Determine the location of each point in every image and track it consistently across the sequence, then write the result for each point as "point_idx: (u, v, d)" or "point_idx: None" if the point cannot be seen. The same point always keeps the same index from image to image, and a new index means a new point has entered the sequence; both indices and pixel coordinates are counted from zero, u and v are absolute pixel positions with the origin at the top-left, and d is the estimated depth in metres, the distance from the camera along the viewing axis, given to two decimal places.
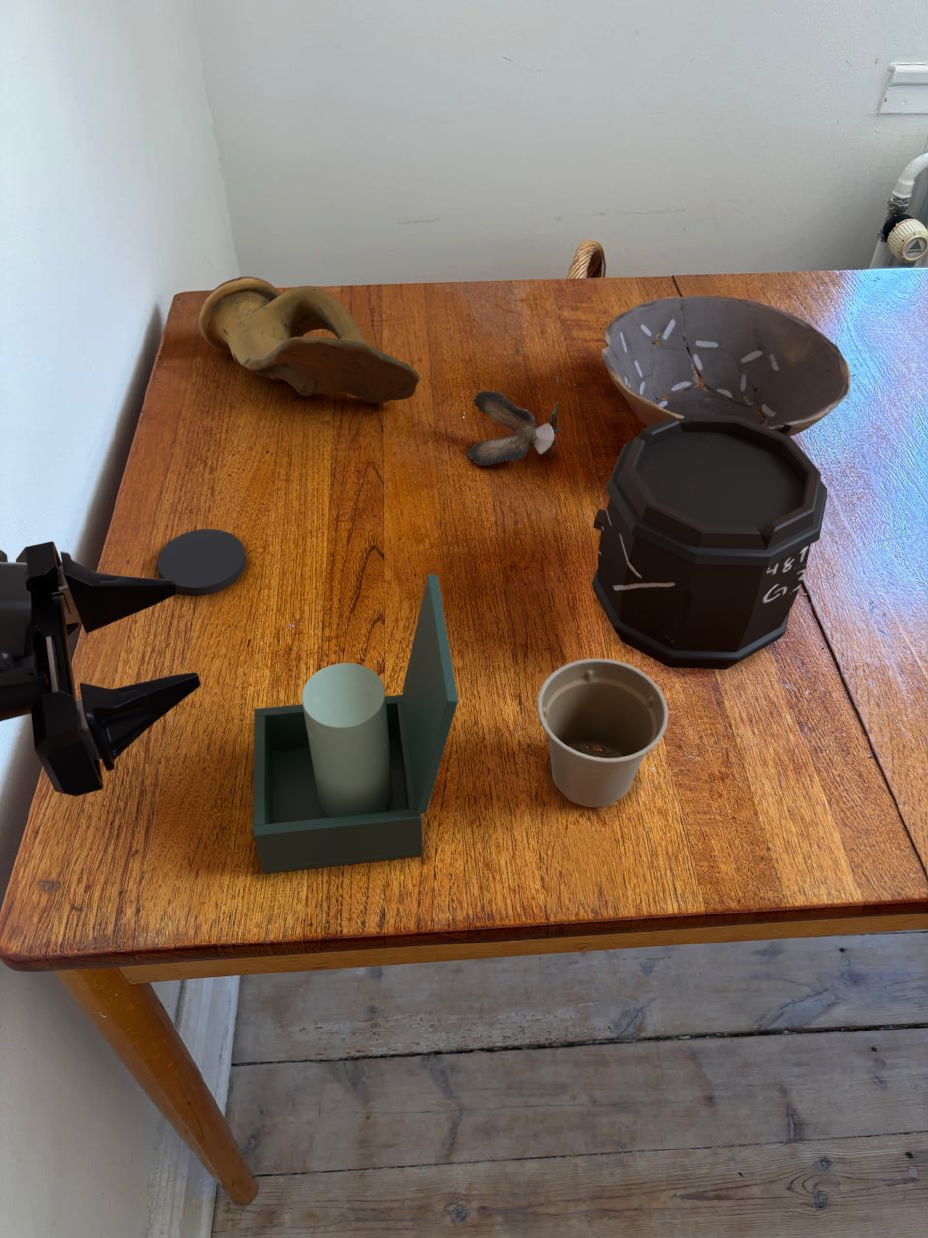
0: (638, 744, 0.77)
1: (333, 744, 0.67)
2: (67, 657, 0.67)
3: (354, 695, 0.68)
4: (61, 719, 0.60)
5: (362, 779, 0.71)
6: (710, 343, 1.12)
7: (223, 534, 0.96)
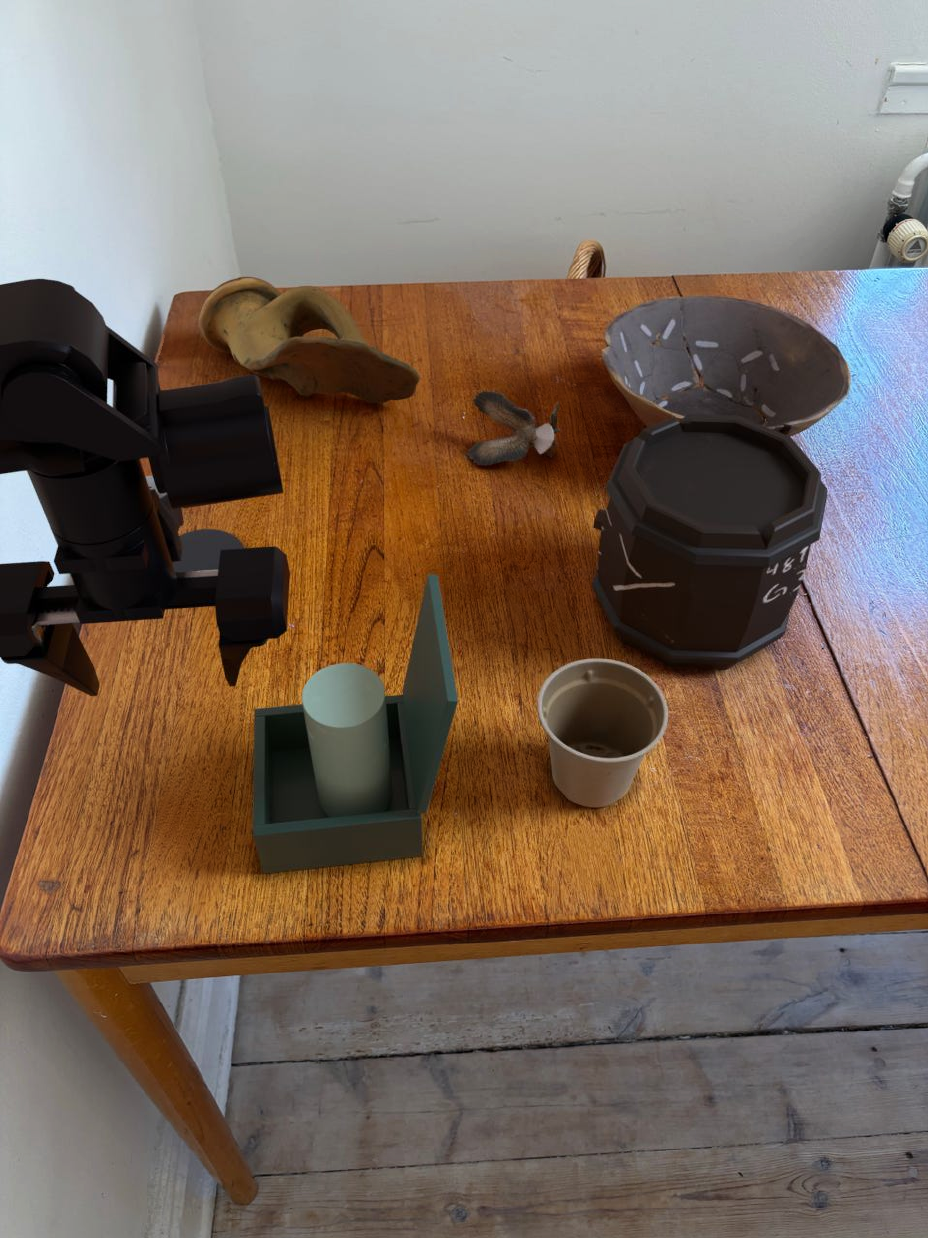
0: (638, 744, 0.77)
1: (333, 744, 0.67)
2: None
3: (354, 695, 0.68)
4: None
5: (362, 779, 0.71)
6: (710, 343, 1.12)
7: (223, 534, 0.96)
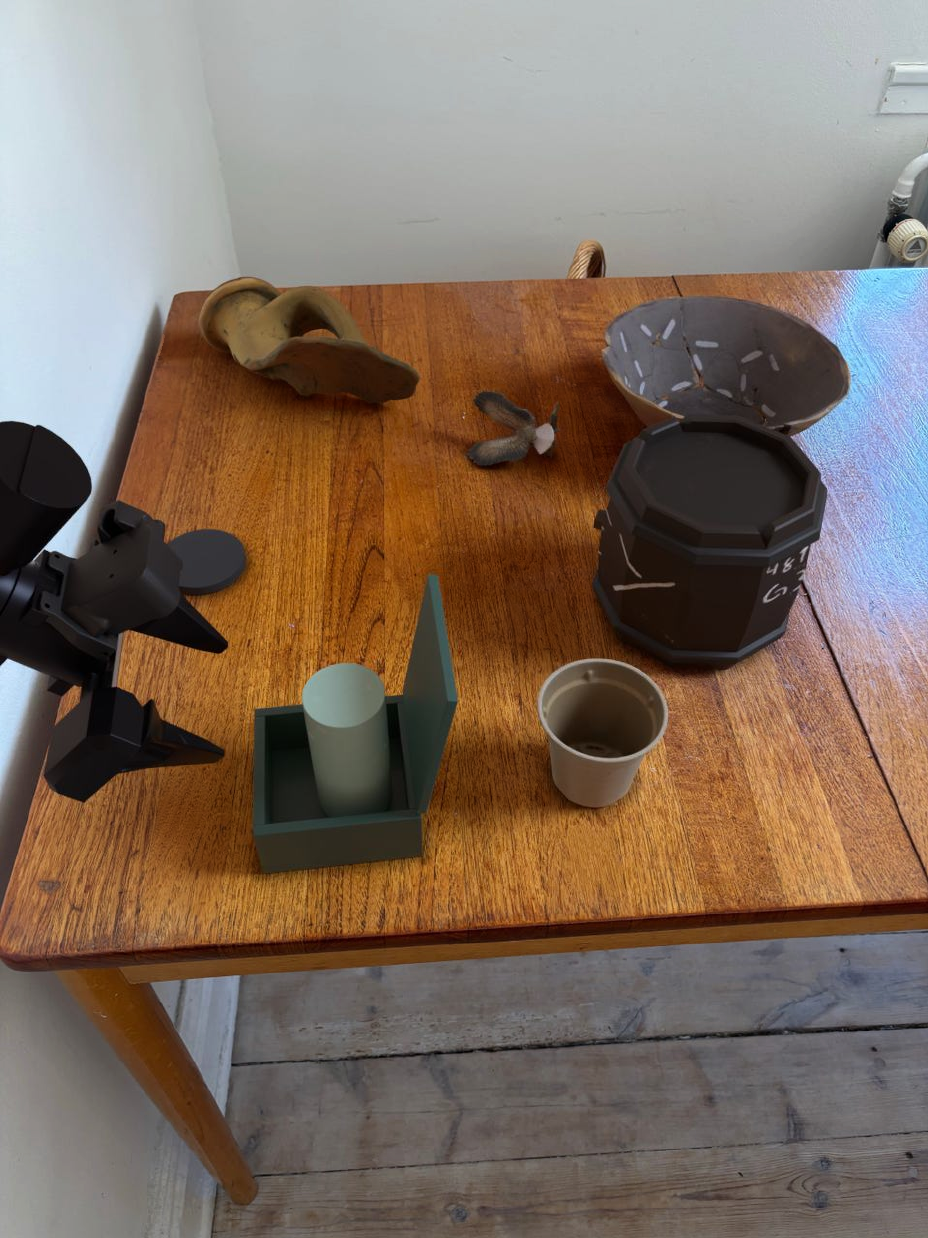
0: (638, 744, 0.77)
1: (333, 744, 0.67)
2: (120, 651, 0.62)
3: (354, 695, 0.68)
4: (128, 725, 0.55)
5: (362, 779, 0.71)
6: (710, 343, 1.12)
7: (223, 534, 0.96)
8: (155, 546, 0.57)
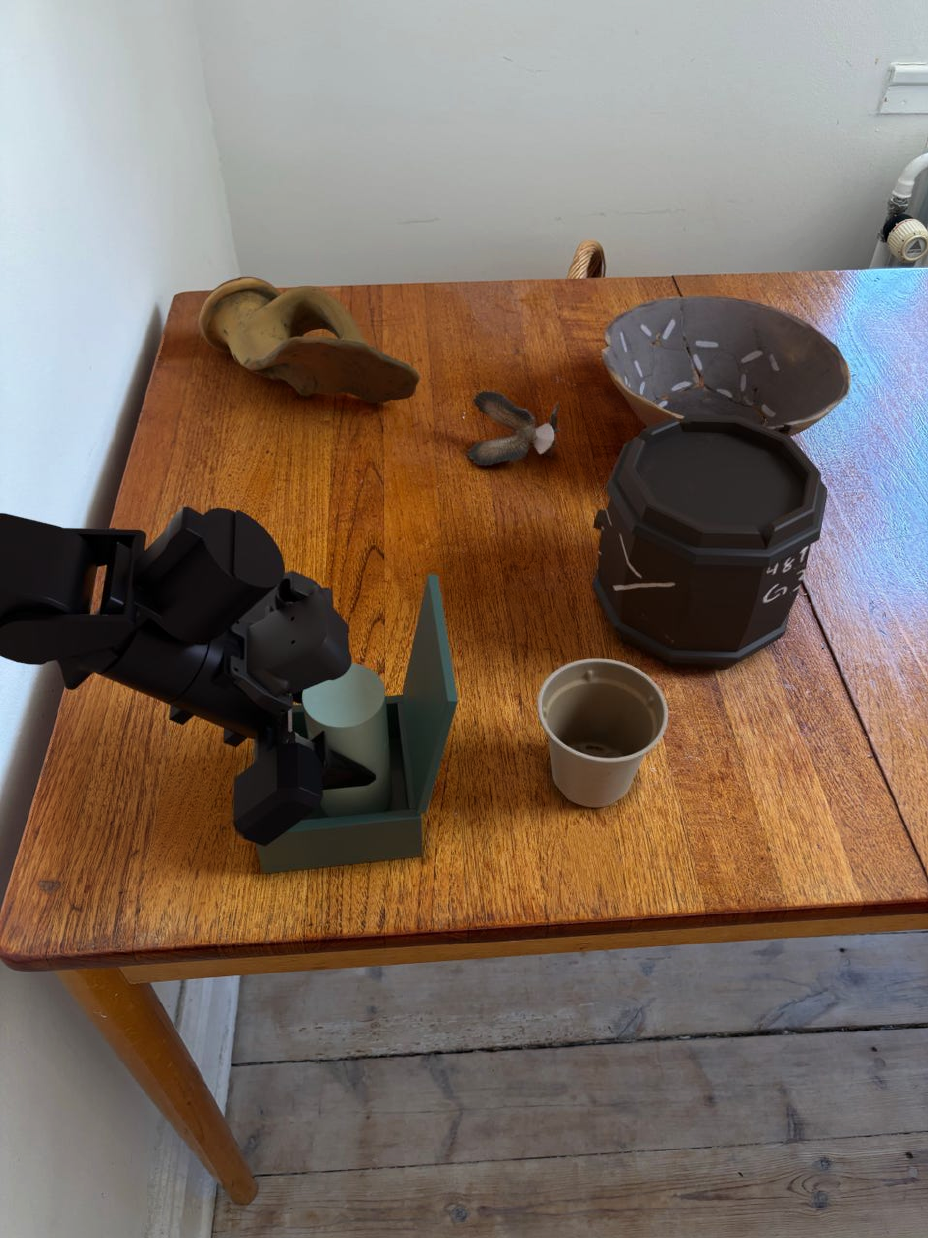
0: (638, 744, 0.77)
1: (333, 744, 0.67)
2: None
3: (354, 695, 0.68)
4: (311, 778, 0.61)
5: None
6: (710, 343, 1.12)
7: None
8: (330, 614, 0.63)
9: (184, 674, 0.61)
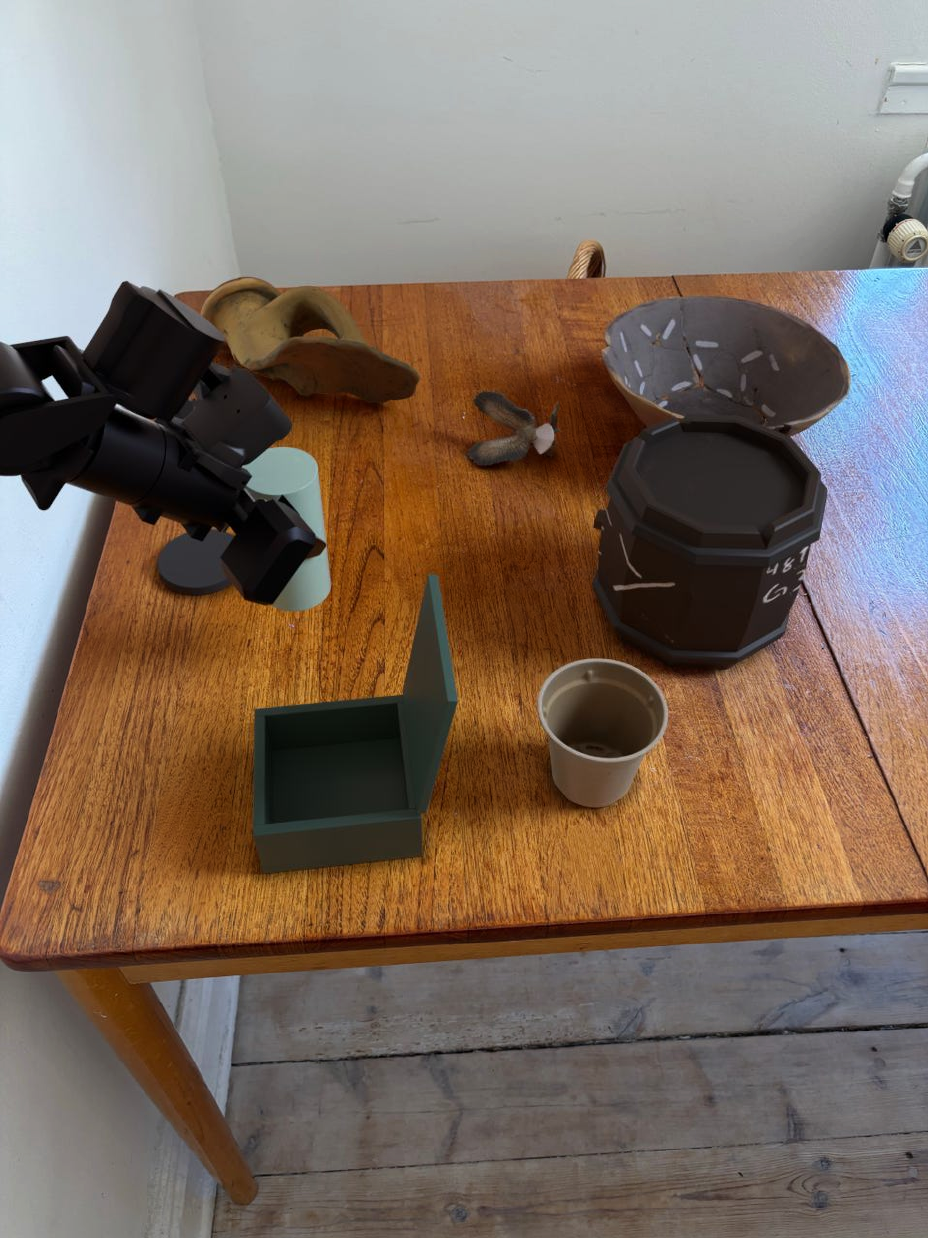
0: (638, 744, 0.77)
1: None
2: None
3: (289, 468, 0.74)
4: (299, 522, 0.67)
5: None
6: (710, 343, 1.12)
7: (223, 534, 0.96)
8: None
9: (154, 460, 0.64)
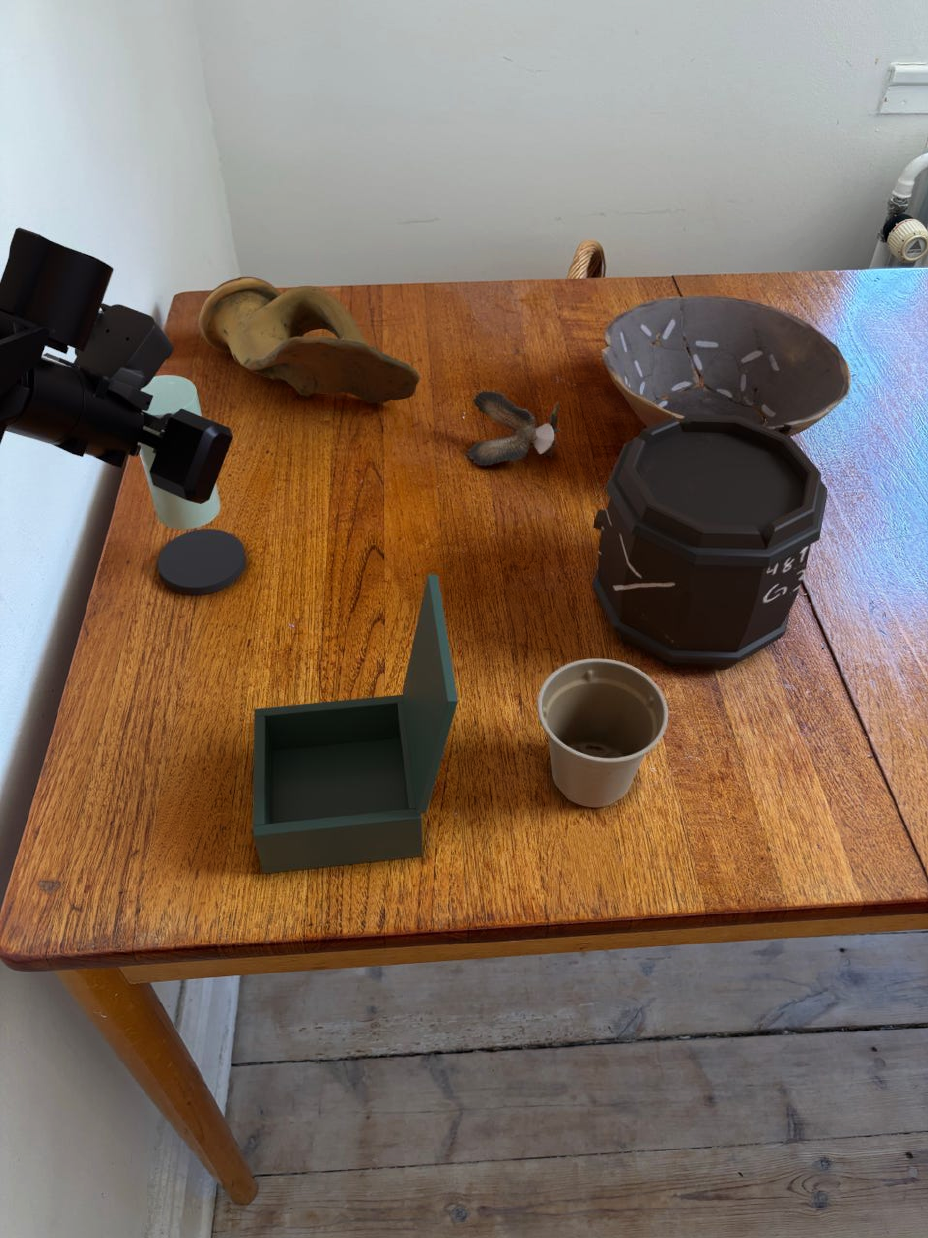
0: (638, 744, 0.77)
1: None
2: None
3: (169, 390, 0.81)
4: None
5: None
6: (710, 343, 1.12)
7: (223, 534, 0.96)
8: None
9: (76, 391, 0.70)
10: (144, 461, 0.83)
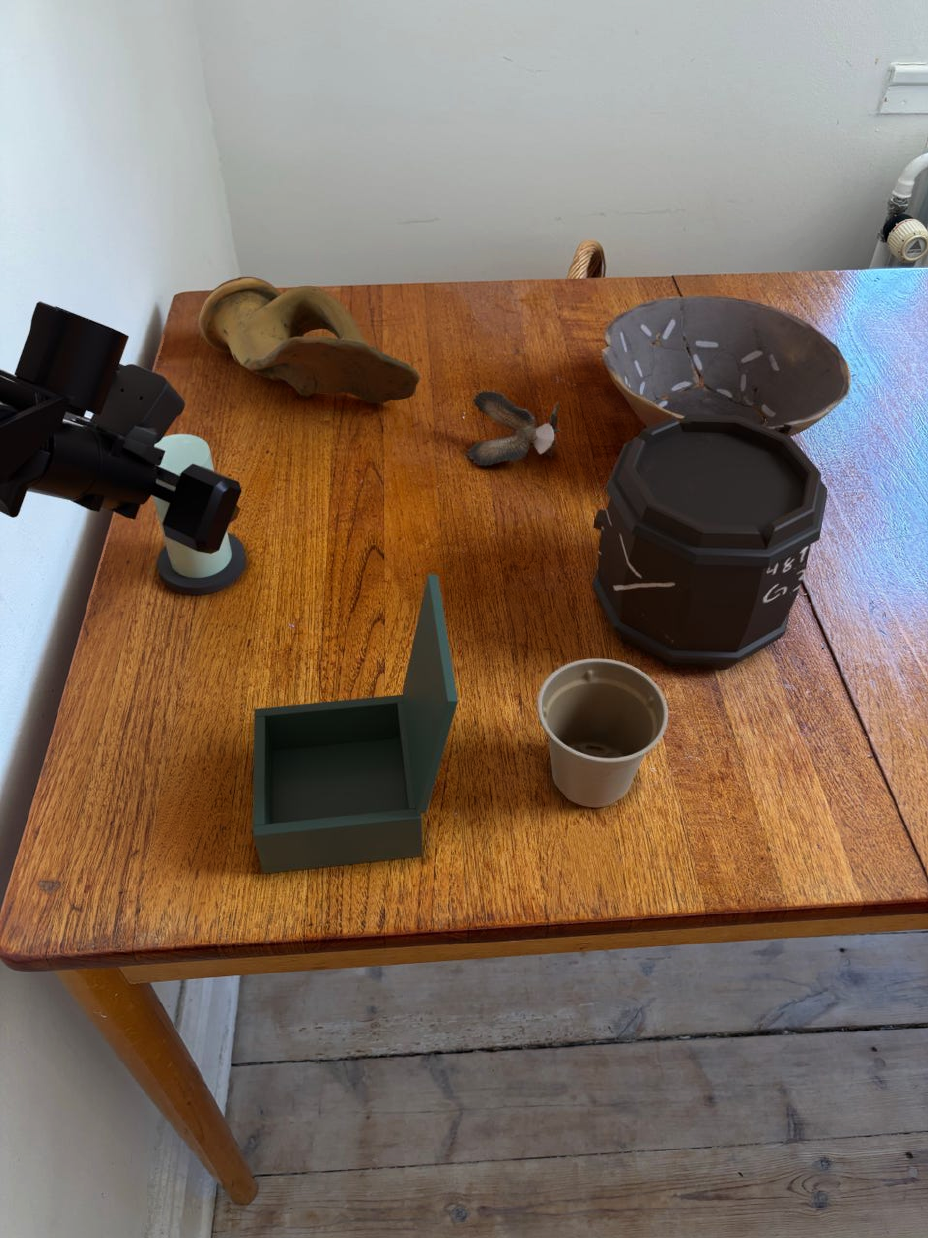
0: (638, 744, 0.77)
1: None
2: None
3: (183, 449, 0.86)
4: (222, 475, 0.79)
5: None
6: (710, 343, 1.12)
7: None
8: None
9: (93, 452, 0.74)
10: (160, 515, 0.88)
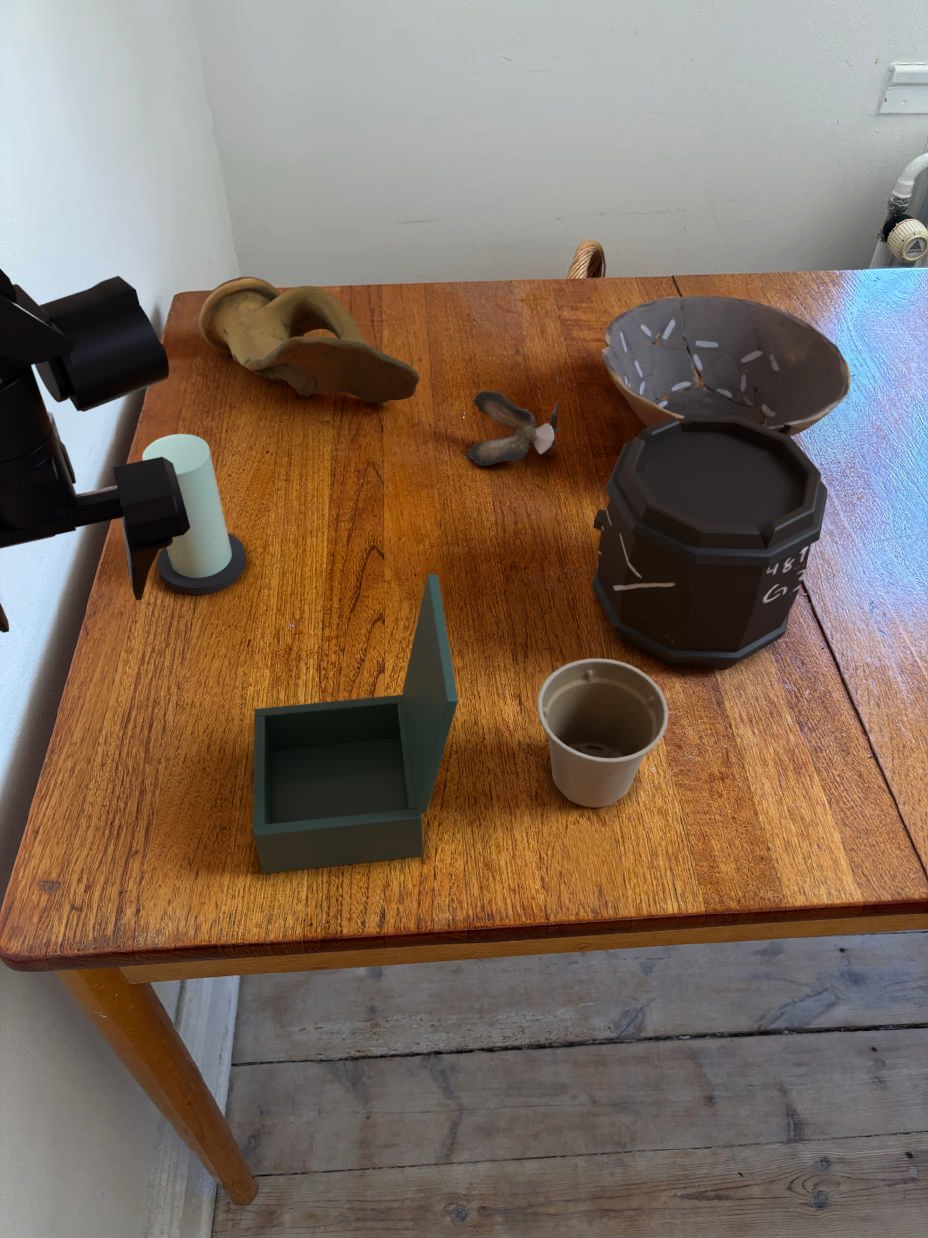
0: (638, 744, 0.77)
1: (196, 488, 0.85)
2: None
3: (183, 449, 0.86)
4: None
5: (218, 516, 0.89)
6: (710, 343, 1.12)
7: None
8: None
9: (38, 435, 0.60)
10: None
